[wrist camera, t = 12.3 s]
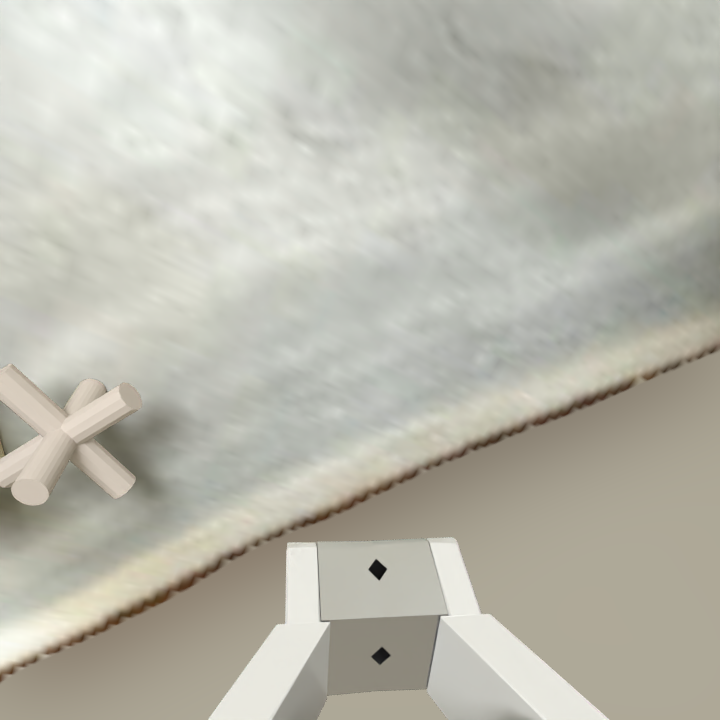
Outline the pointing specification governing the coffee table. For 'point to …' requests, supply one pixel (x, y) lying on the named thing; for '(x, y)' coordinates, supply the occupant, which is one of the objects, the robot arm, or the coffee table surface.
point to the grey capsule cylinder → (1, 451)
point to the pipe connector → (64, 436)
